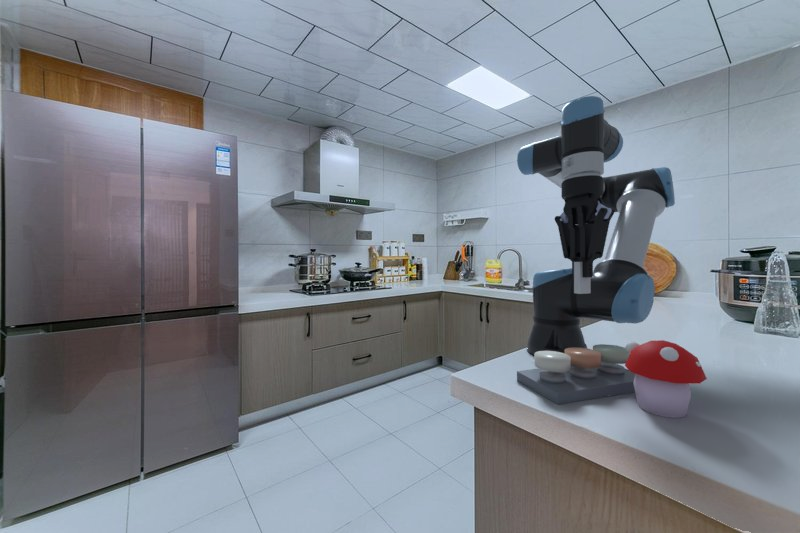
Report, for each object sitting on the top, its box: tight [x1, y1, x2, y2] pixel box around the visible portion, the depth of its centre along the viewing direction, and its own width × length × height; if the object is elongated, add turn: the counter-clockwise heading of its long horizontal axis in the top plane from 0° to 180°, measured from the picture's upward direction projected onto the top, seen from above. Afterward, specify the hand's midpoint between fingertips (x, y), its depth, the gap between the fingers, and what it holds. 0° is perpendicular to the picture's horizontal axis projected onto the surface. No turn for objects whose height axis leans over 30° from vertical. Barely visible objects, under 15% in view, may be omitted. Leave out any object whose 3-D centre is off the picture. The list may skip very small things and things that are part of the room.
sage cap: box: [592, 343, 630, 365], centre depth 68 cm, size 7×7×2 cm
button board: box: [516, 361, 636, 405], centre depth 66 cm, size 12×23×3 cm, turn 105°
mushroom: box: [624, 339, 707, 419], centre depth 55 cm, size 11×11×12 cm
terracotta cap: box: [565, 347, 601, 368], centre depth 66 cm, size 7×7×2 cm
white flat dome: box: [533, 351, 571, 372], centre depth 64 cm, size 7×7×2 cm
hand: (582, 293), depth 66 cm, fingers closed
